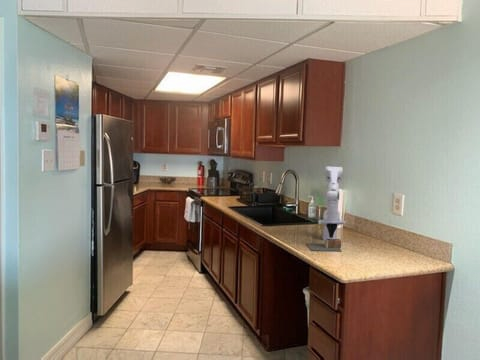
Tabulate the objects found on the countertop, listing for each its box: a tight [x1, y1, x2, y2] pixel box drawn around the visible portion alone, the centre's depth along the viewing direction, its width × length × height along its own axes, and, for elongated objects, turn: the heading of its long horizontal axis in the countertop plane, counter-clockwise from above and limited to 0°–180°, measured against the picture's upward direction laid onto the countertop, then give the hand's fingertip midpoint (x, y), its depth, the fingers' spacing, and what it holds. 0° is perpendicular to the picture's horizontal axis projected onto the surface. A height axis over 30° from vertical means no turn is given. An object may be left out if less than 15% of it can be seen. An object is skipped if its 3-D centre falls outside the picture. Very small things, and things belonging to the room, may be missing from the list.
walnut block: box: [324, 238, 342, 249], centre depth 205 cm, size 4×4×8 cm
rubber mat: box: [305, 242, 342, 253], centre depth 205 cm, size 14×16×1 cm
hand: (331, 237), depth 205 cm, fingers closed
